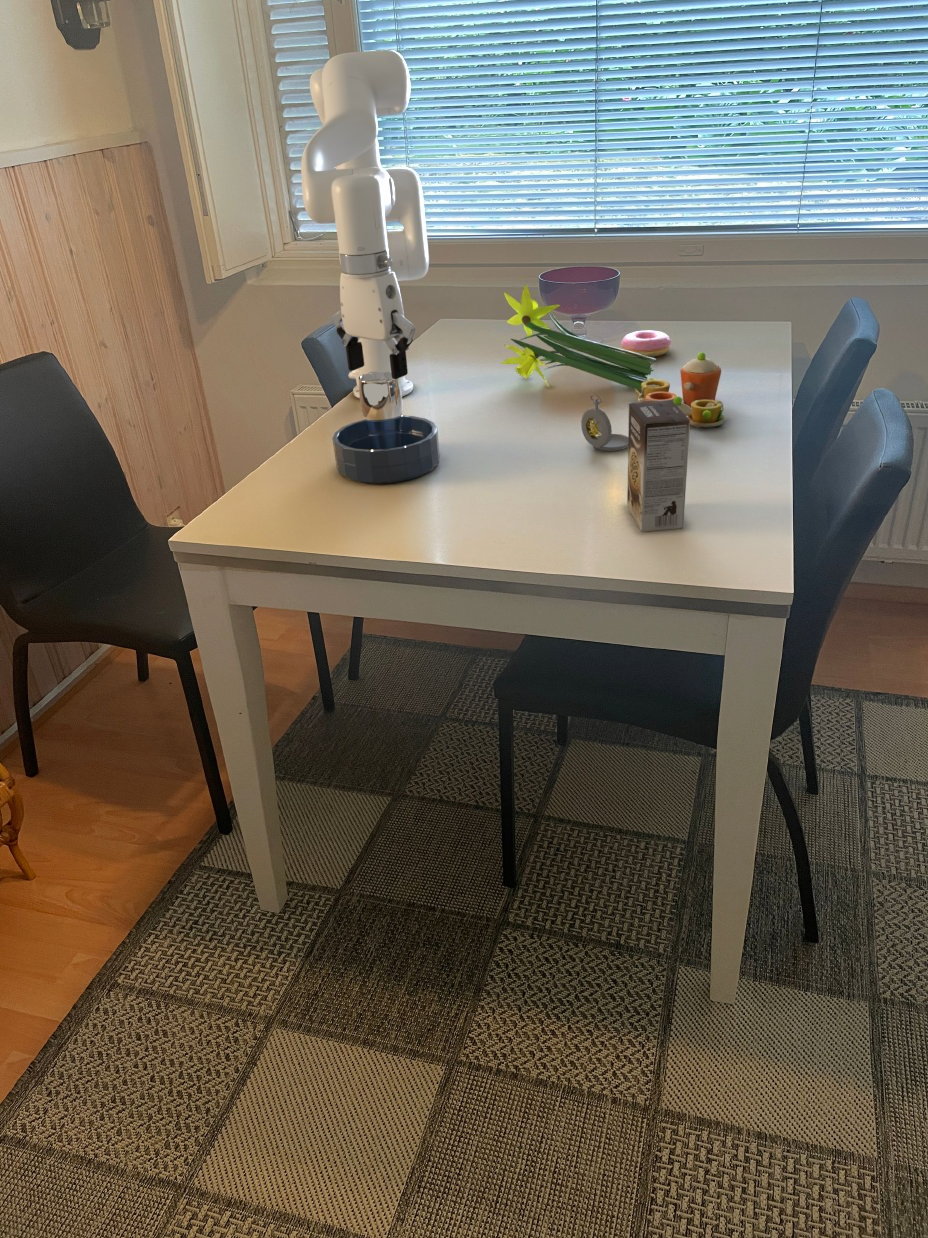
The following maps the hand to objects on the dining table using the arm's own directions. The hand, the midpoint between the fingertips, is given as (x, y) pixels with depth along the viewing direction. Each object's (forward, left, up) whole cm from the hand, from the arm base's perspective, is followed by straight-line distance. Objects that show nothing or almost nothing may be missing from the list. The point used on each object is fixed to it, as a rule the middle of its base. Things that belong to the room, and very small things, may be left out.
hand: (378, 372), depth 154 cm
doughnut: (+5, +80, -16) cm, 82 cm away
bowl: (0, 0, -16) cm, 16 cm away
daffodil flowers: (+3, +55, -16) cm, 57 cm away
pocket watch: (+28, +25, -16) cm, 41 cm away
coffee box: (+49, +4, -16) cm, 52 cm away
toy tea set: (+32, +45, -16) cm, 58 cm away
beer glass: (0, 0, -16) cm, 16 cm away
